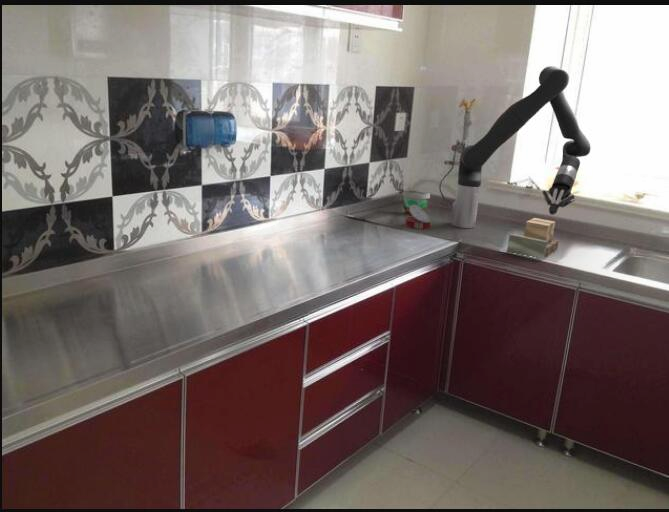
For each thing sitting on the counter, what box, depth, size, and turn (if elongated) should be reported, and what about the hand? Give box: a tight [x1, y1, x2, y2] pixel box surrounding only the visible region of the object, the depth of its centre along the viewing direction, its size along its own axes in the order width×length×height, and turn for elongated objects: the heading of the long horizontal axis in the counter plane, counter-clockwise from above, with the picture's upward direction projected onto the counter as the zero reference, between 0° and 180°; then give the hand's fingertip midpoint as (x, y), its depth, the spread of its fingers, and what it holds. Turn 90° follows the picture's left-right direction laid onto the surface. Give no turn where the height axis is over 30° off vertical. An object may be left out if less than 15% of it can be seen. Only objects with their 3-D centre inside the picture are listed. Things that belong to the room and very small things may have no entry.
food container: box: [401, 190, 431, 216], centre depth 280 cm, size 12×6×10 cm, turn 80°
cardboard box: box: [523, 217, 556, 243], centre depth 239 cm, size 10×8×7 cm
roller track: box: [506, 233, 560, 260], centre depth 236 cm, size 20×13×6 cm, turn 147°
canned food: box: [405, 204, 431, 230], centre depth 260 cm, size 11×10×10 cm
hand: (551, 213), depth 250 cm, fingers closed
